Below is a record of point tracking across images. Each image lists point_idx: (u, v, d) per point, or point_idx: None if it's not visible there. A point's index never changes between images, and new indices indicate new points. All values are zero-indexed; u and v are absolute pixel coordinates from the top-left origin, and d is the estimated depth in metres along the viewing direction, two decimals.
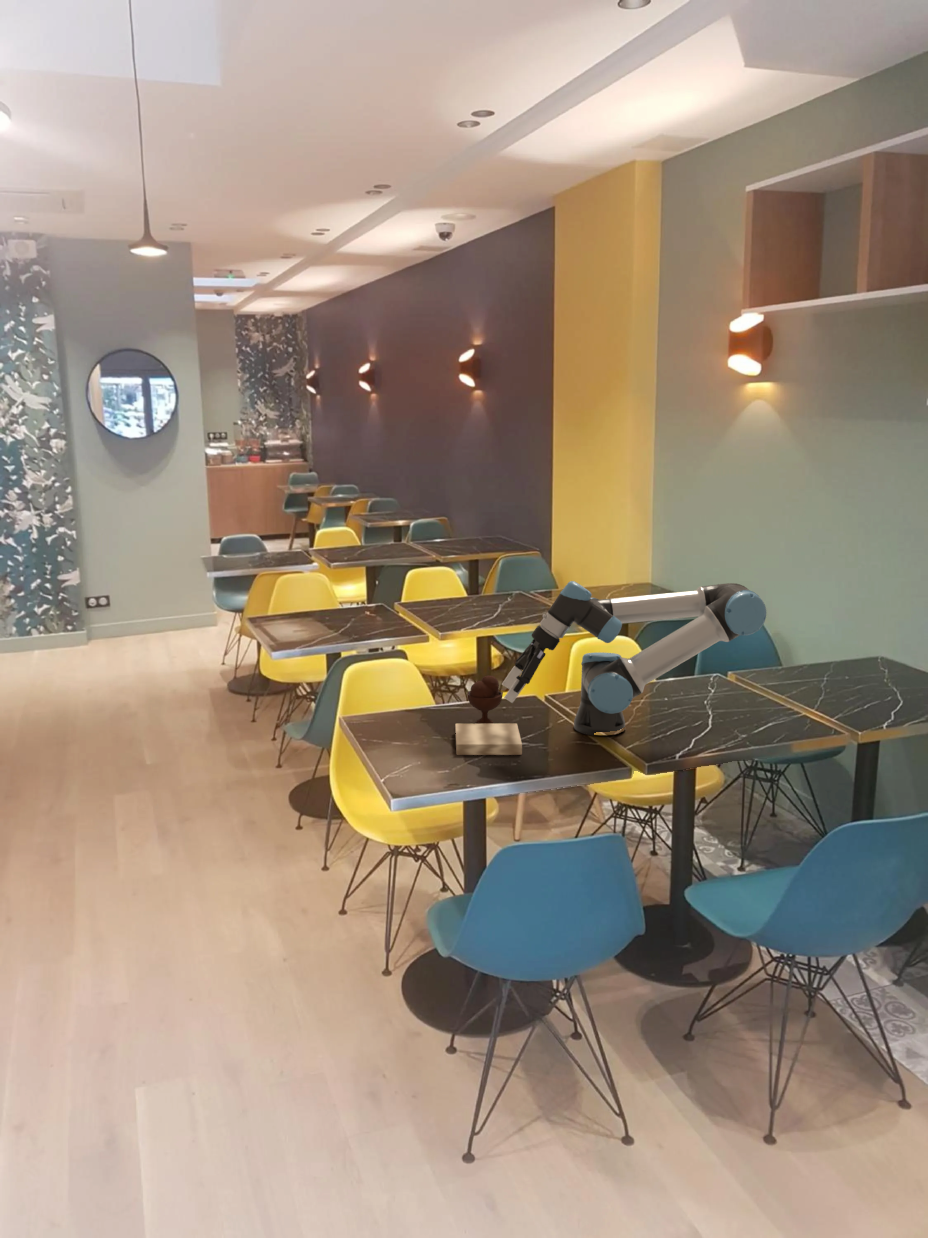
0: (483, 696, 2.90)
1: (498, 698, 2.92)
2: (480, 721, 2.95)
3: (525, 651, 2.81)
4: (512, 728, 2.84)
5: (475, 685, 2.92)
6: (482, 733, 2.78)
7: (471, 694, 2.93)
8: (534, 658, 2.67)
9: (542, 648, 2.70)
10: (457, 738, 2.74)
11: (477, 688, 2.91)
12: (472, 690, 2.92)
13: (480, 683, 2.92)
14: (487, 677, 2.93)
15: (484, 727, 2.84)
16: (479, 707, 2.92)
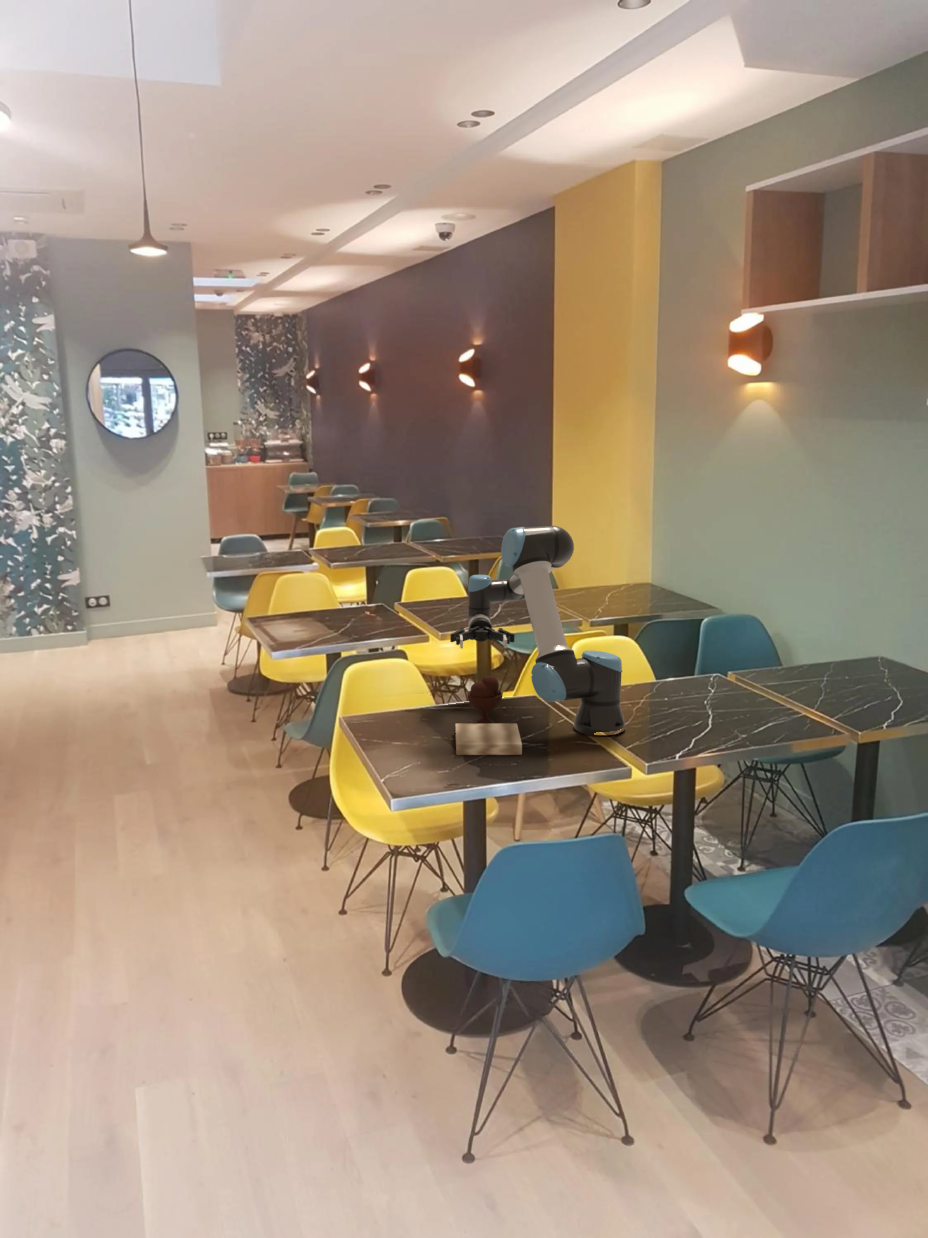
0: (483, 696, 2.90)
1: (498, 698, 2.92)
2: (480, 721, 2.95)
3: None
4: (512, 728, 2.84)
5: (475, 685, 2.92)
6: (482, 733, 2.78)
7: (471, 694, 2.93)
8: None
9: None
10: (457, 738, 2.74)
11: (477, 688, 2.91)
12: (472, 690, 2.92)
13: (480, 683, 2.92)
14: (487, 677, 2.93)
15: (484, 727, 2.84)
16: (479, 707, 2.92)
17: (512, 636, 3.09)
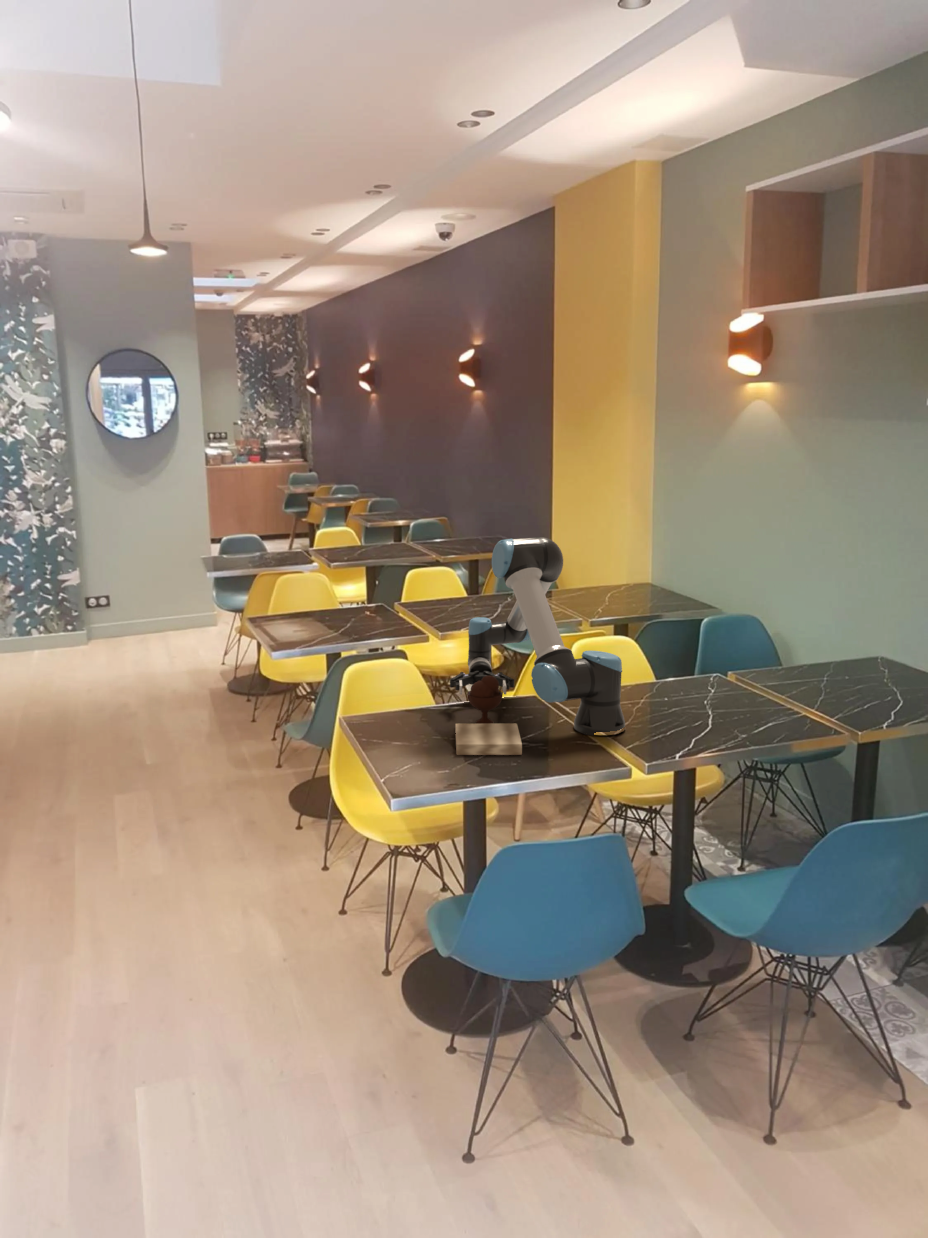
0: (483, 696, 2.90)
1: (498, 698, 2.92)
2: (480, 721, 2.95)
3: None
4: (512, 728, 2.84)
5: (475, 685, 2.92)
6: (482, 733, 2.78)
7: (471, 694, 2.93)
8: None
9: None
10: (457, 738, 2.74)
11: (477, 688, 2.91)
12: (472, 690, 2.92)
13: (480, 683, 2.92)
14: (487, 677, 2.93)
15: (484, 727, 2.84)
16: (479, 707, 2.92)
17: (512, 681, 3.09)
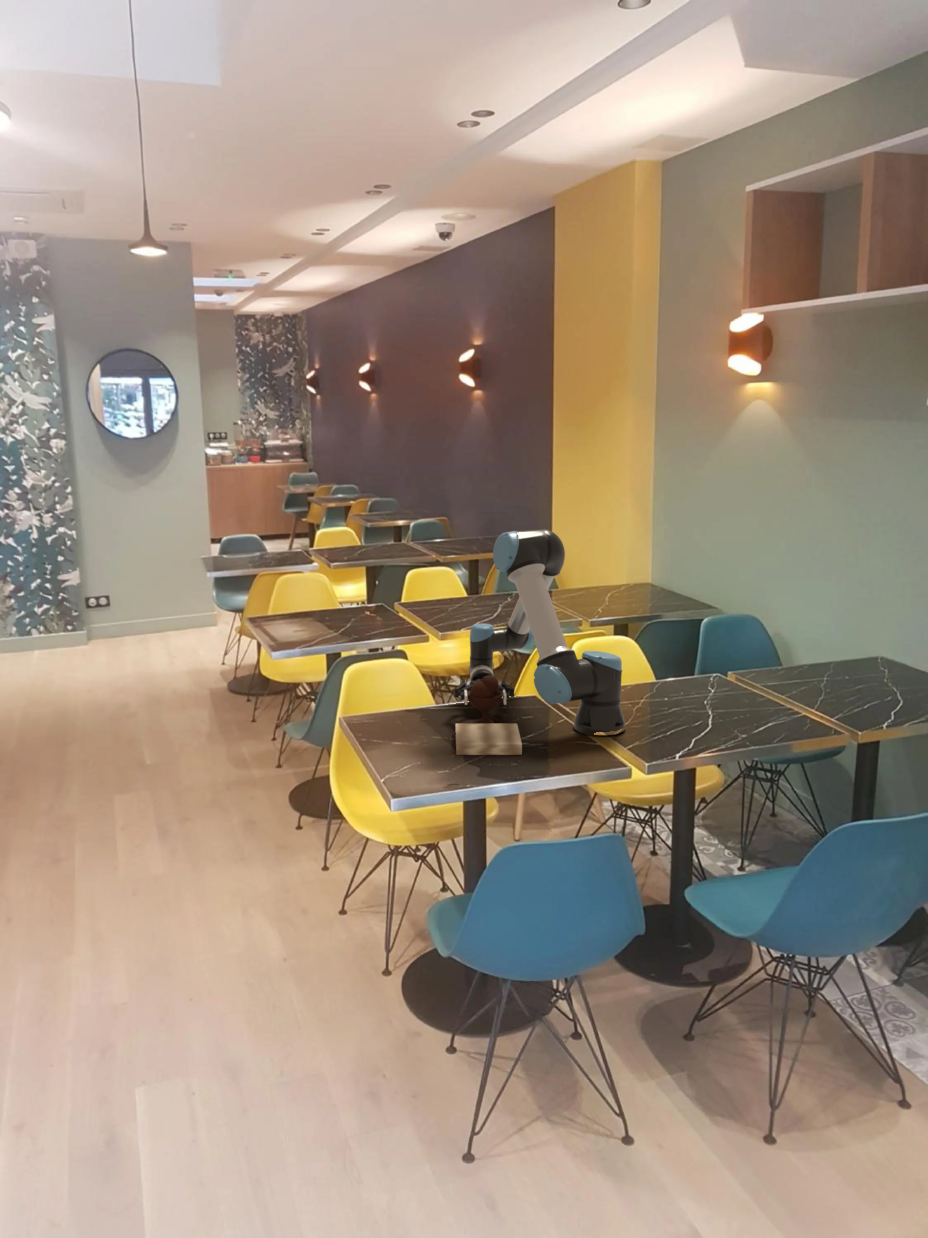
0: (483, 696, 2.90)
1: (498, 698, 2.92)
2: (480, 721, 2.95)
3: None
4: (512, 728, 2.84)
5: (475, 685, 2.92)
6: (482, 733, 2.78)
7: (471, 694, 2.93)
8: None
9: None
10: (457, 738, 2.74)
11: (477, 688, 2.91)
12: (472, 690, 2.92)
13: (480, 683, 2.92)
14: (487, 677, 2.93)
15: (484, 727, 2.84)
16: (479, 707, 2.92)
17: (512, 691, 2.98)
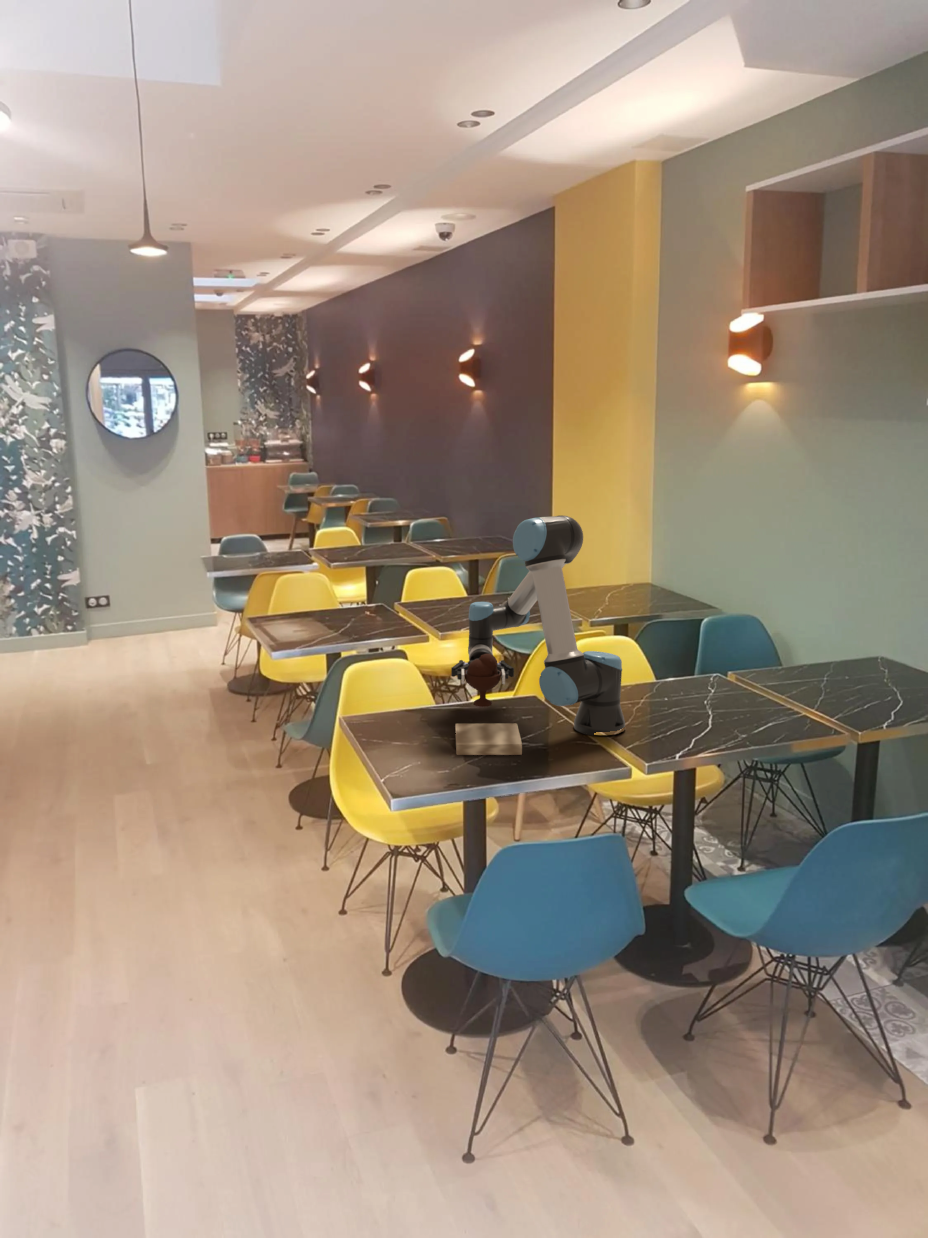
0: (481, 675, 2.78)
1: (496, 677, 2.79)
2: (478, 701, 2.83)
3: None
4: (512, 728, 2.84)
5: (472, 663, 2.80)
6: (482, 733, 2.78)
7: (468, 673, 2.80)
8: None
9: None
10: (457, 738, 2.74)
11: (474, 666, 2.79)
12: (469, 669, 2.80)
13: (478, 661, 2.80)
14: (485, 655, 2.80)
15: (484, 727, 2.84)
16: (476, 686, 2.80)
17: (511, 670, 2.86)
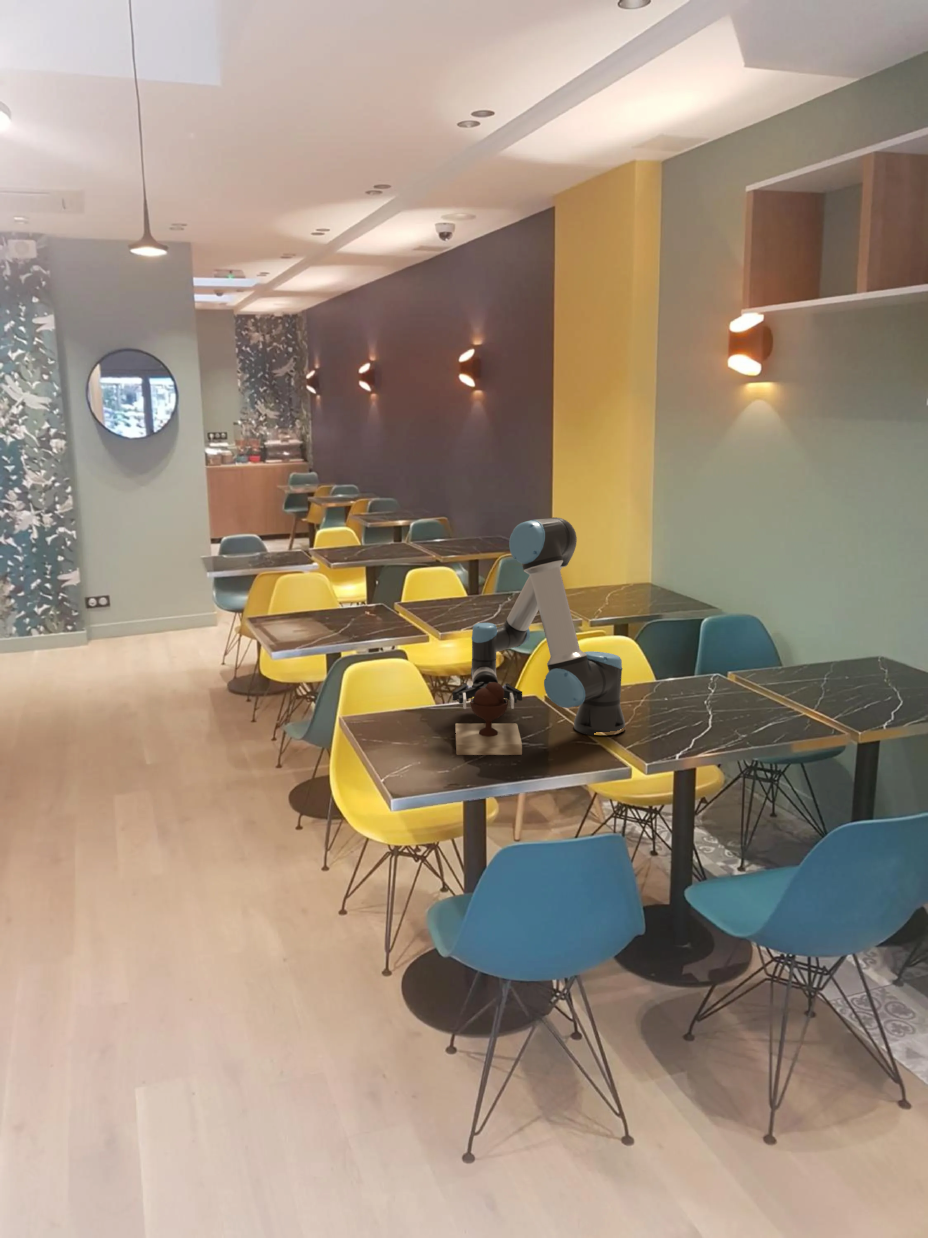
0: (487, 704, 2.72)
1: (503, 706, 2.74)
2: (483, 731, 2.77)
3: None
4: (512, 728, 2.84)
5: (479, 692, 2.74)
6: None
7: (474, 702, 2.74)
8: None
9: None
10: (457, 738, 2.74)
11: (481, 695, 2.73)
12: (476, 697, 2.74)
13: (484, 690, 2.74)
14: (492, 684, 2.75)
15: (484, 727, 2.84)
16: (483, 716, 2.74)
17: (520, 694, 2.80)
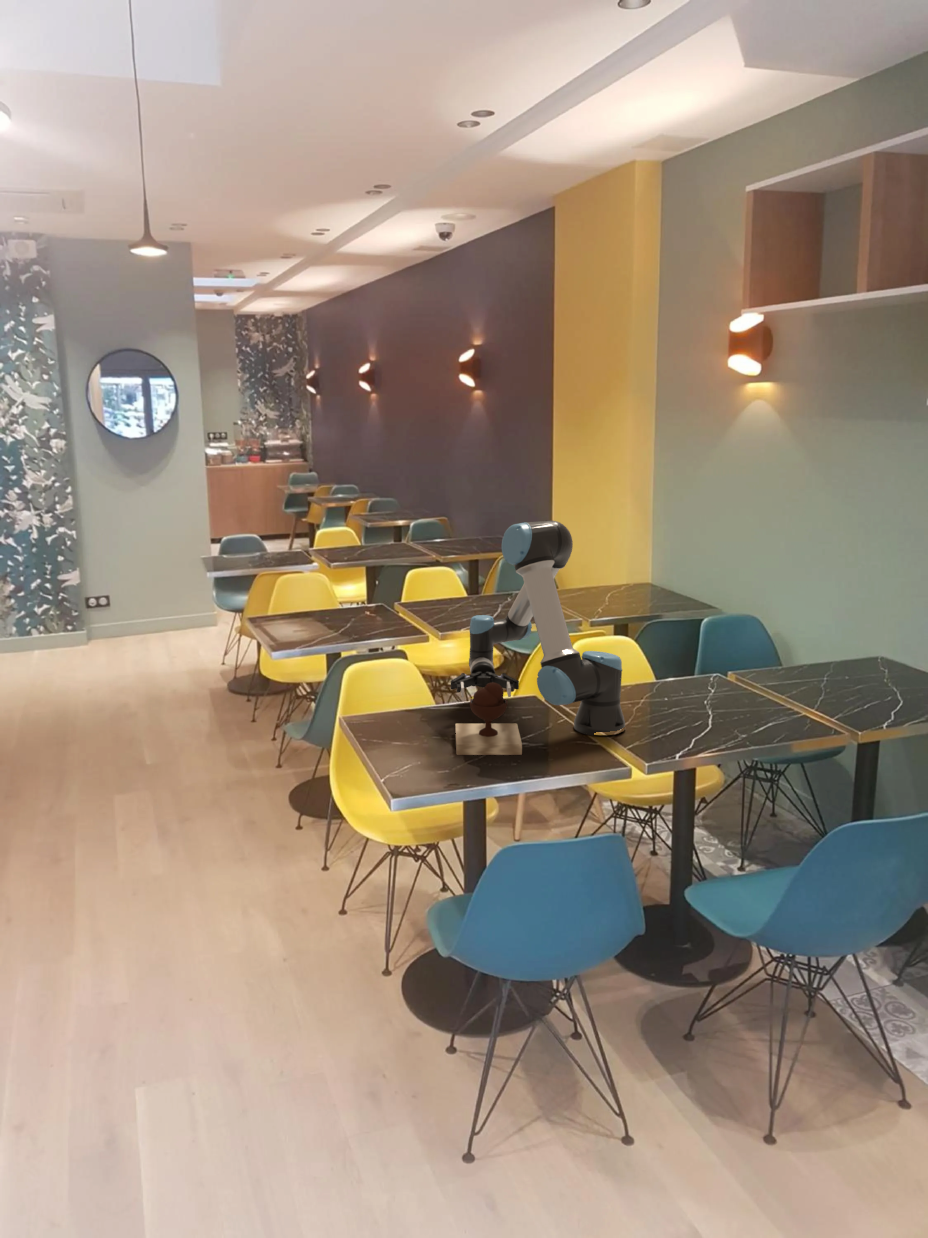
0: (487, 704, 2.72)
1: (503, 706, 2.73)
2: (483, 731, 2.77)
3: None
4: (512, 728, 2.84)
5: (478, 693, 2.74)
6: None
7: (474, 702, 2.74)
8: None
9: None
10: (457, 738, 2.74)
11: (480, 696, 2.73)
12: (475, 698, 2.74)
13: (483, 691, 2.74)
14: (491, 684, 2.75)
15: (484, 727, 2.84)
16: (482, 716, 2.74)
17: (516, 683, 2.91)
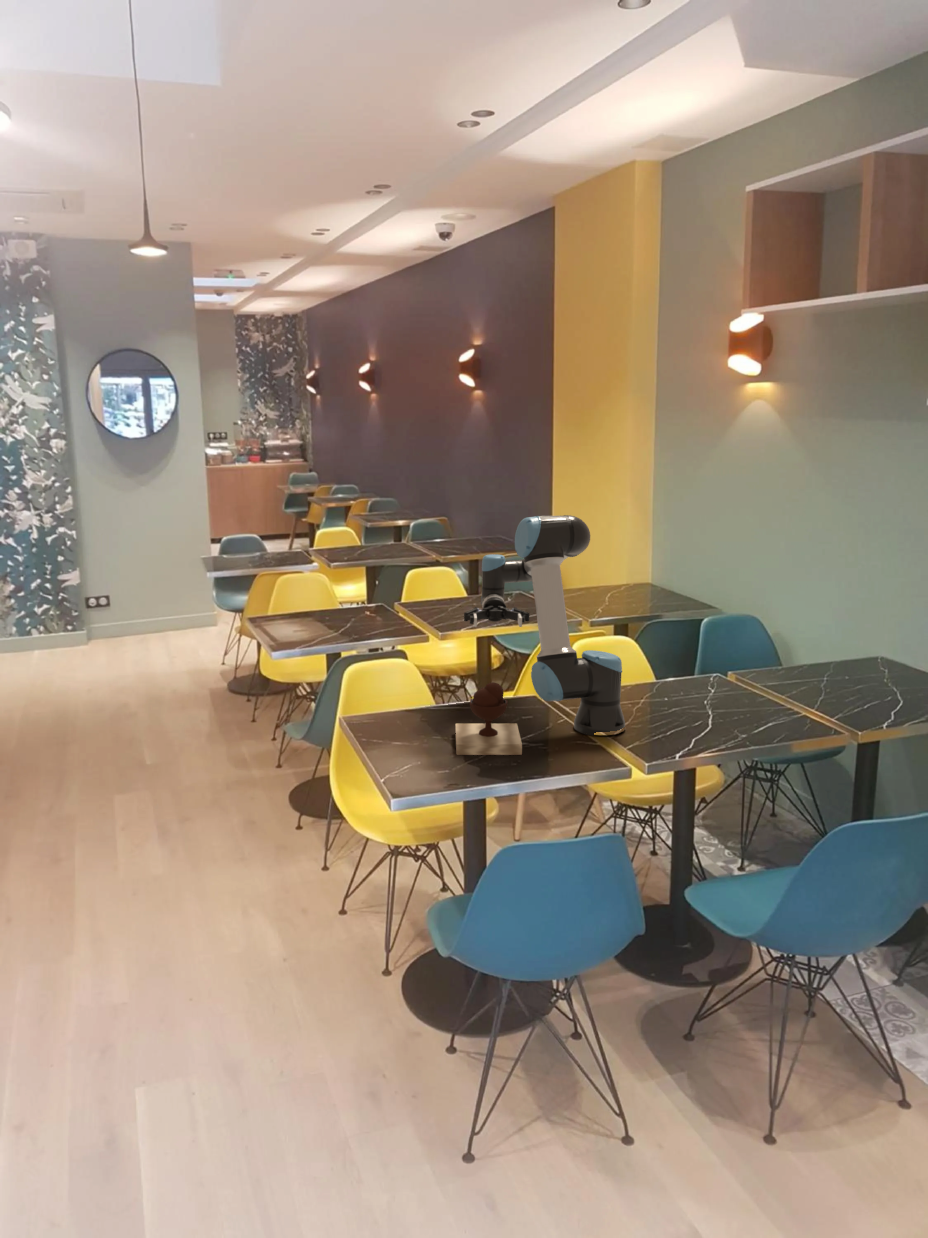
0: (487, 704, 2.72)
1: (503, 706, 2.73)
2: (483, 731, 2.77)
3: None
4: (512, 728, 2.84)
5: (478, 693, 2.74)
6: None
7: (474, 702, 2.74)
8: None
9: None
10: (457, 738, 2.74)
11: (480, 696, 2.73)
12: (475, 698, 2.74)
13: (483, 691, 2.74)
14: (491, 684, 2.75)
15: (484, 727, 2.84)
16: (482, 716, 2.74)
17: (527, 615, 3.03)
